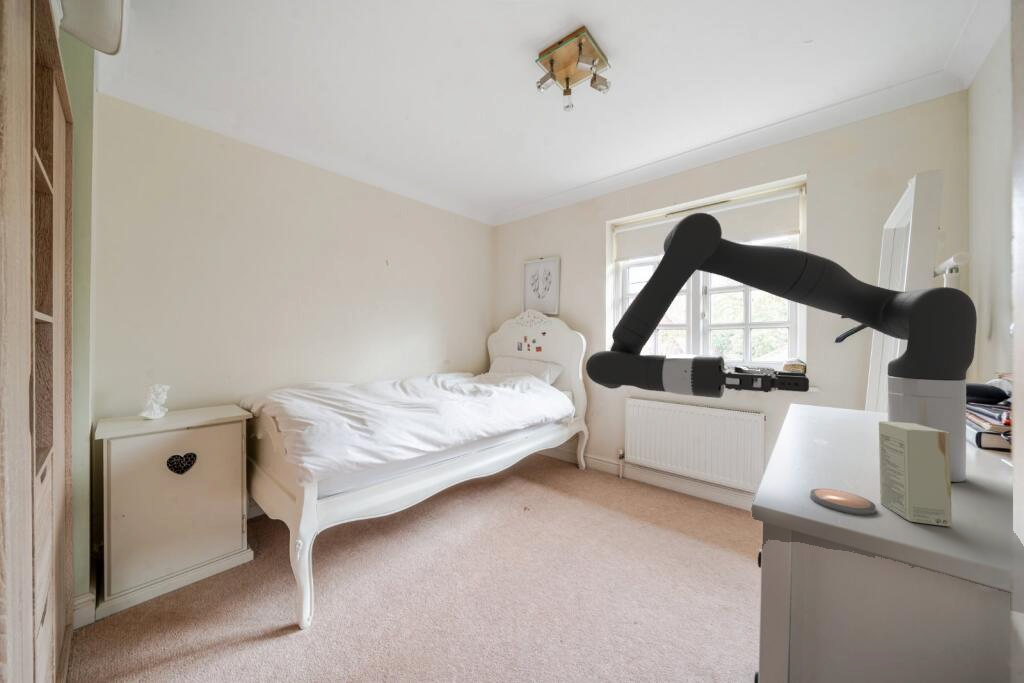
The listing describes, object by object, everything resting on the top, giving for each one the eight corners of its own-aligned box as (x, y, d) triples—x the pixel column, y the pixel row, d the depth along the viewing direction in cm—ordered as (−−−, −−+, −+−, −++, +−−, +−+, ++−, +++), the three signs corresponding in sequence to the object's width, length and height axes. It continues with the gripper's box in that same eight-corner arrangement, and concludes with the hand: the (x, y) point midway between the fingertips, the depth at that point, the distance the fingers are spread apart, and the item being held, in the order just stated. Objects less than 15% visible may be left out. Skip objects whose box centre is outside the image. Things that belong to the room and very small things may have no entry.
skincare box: (954, 528, 45) (954, 432, 45) (908, 523, 46) (909, 430, 46) (916, 506, 51) (916, 421, 51) (877, 502, 52) (877, 419, 52)
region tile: (805, 489, 57) (805, 484, 57) (864, 499, 53) (864, 494, 53) (816, 507, 50) (816, 501, 50) (884, 519, 47) (884, 513, 47)
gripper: (684, 356, 59) (810, 359, 50) (700, 354, 71) (805, 356, 61) (684, 400, 59) (810, 413, 50) (700, 391, 71) (804, 400, 61)
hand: (807, 381), depth 55 cm, fingers open, 8 cm apart
